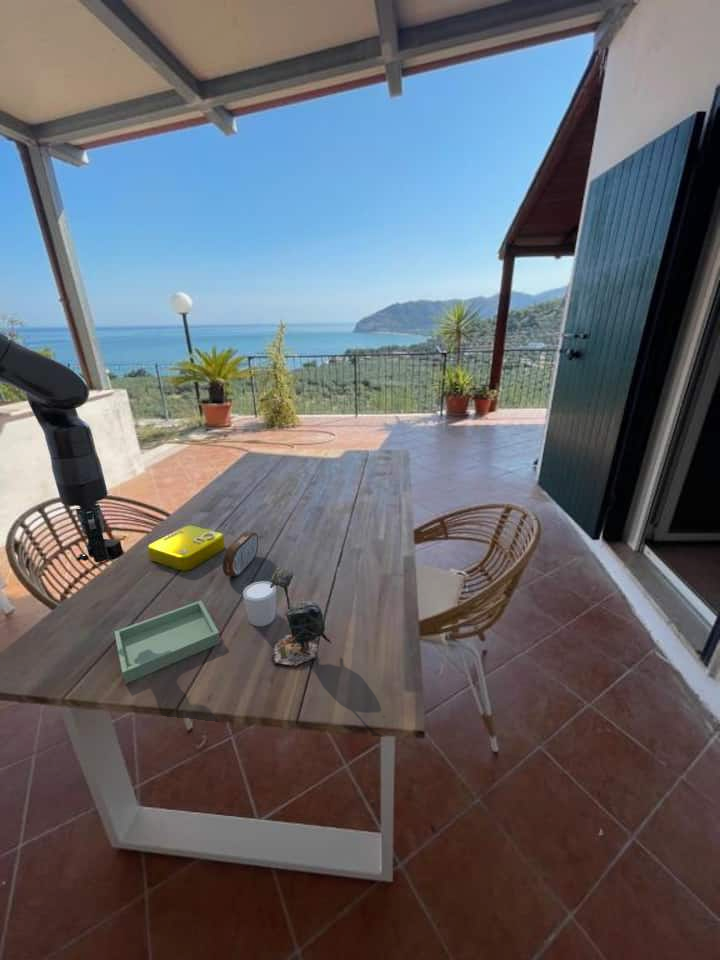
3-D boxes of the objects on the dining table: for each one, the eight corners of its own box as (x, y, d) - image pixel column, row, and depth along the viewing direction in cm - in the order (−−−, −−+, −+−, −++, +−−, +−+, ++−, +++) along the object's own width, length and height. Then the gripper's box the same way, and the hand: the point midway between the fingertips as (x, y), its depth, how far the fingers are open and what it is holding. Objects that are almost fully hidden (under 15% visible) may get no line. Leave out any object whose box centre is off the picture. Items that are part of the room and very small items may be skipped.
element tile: (191, 536, 119) (188, 522, 117) (228, 547, 113) (226, 532, 111) (147, 559, 106) (143, 544, 105) (185, 573, 100) (183, 557, 99)
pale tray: (125, 684, 68) (122, 672, 67) (117, 641, 77) (114, 631, 76) (220, 643, 77) (219, 632, 76) (202, 609, 87) (201, 600, 86)
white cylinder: (239, 623, 82) (235, 595, 80) (258, 604, 88) (255, 577, 86) (266, 631, 80) (263, 603, 78) (284, 611, 86) (282, 584, 84)
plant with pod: (324, 673, 70) (320, 578, 63) (265, 664, 72) (254, 571, 65) (334, 641, 77) (332, 553, 71) (281, 634, 79) (273, 547, 73)
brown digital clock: (251, 552, 110) (248, 525, 107) (261, 553, 110) (258, 526, 107) (223, 582, 96) (219, 552, 94) (234, 583, 96) (231, 553, 93)
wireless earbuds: (95, 551, 82) (92, 537, 81) (125, 554, 81) (121, 540, 80) (76, 562, 78) (72, 548, 77) (107, 566, 77) (103, 551, 75)
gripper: (54, 470, 77) (75, 546, 83) (55, 491, 66) (80, 576, 72) (99, 464, 81) (116, 536, 87) (107, 482, 71) (126, 563, 76)
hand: (99, 554), depth 79 cm, fingers closed on wireless earbuds, 5 cm apart
